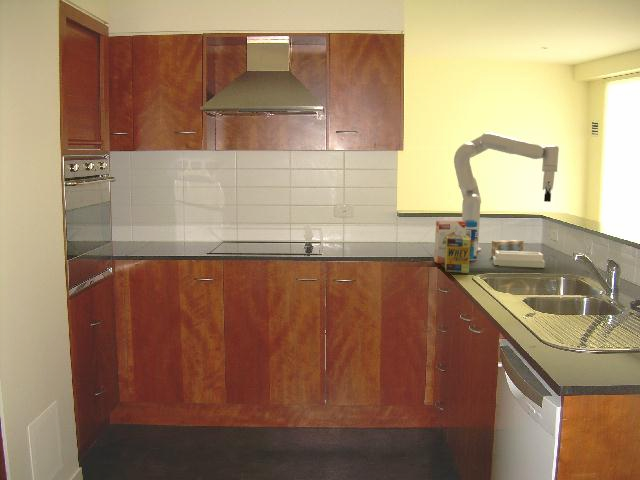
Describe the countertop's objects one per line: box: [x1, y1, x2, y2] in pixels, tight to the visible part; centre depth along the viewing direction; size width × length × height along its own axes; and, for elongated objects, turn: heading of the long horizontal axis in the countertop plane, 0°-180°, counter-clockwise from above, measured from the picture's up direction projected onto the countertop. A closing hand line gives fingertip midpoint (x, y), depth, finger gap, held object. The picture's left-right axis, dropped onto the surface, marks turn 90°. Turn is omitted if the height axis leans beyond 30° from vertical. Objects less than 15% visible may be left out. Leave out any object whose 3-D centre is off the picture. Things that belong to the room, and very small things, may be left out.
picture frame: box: [490, 239, 524, 259], centre depth 318 cm, size 16×4×9 cm, turn 105°
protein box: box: [444, 235, 470, 274], centre depth 282 cm, size 10×15×16 cm
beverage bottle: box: [464, 220, 479, 262], centre depth 310 cm, size 8×8×20 cm
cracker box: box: [433, 220, 467, 264], centre depth 300 cm, size 14×6×21 cm, turn 96°
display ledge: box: [492, 251, 546, 269], centre depth 297 cm, size 23×10×6 cm, turn 79°
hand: (547, 200), depth 326 cm, fingers open, 9 cm apart
